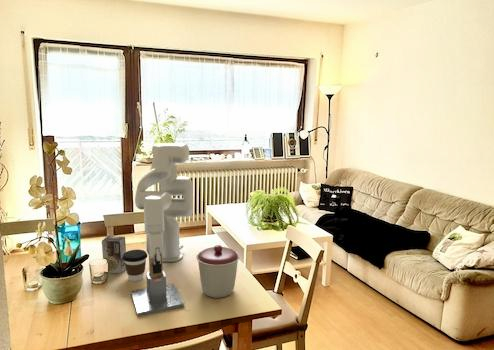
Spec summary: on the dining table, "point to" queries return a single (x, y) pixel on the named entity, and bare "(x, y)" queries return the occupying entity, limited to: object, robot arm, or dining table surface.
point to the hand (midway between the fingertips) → (155, 270)
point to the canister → (218, 270)
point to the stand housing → (156, 296)
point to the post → (152, 268)
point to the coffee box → (114, 253)
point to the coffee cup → (135, 264)
